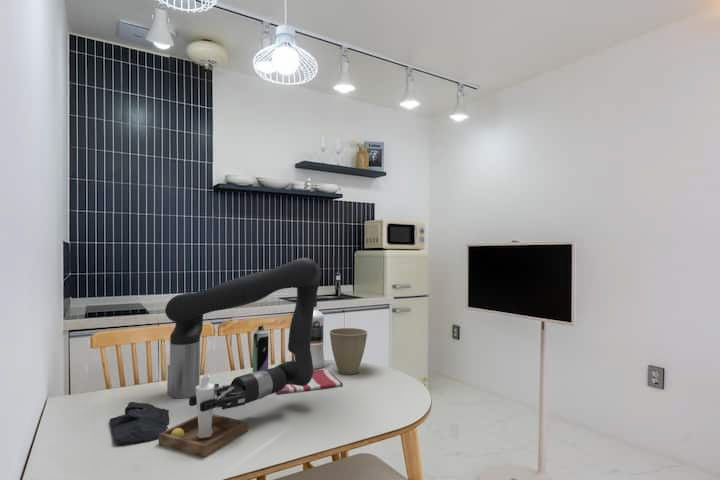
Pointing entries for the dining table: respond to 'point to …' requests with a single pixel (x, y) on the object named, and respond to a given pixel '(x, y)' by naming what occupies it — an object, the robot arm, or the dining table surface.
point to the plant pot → (348, 348)
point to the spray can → (260, 349)
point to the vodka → (317, 338)
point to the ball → (178, 432)
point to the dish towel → (314, 383)
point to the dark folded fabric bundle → (139, 423)
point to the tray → (191, 443)
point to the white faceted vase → (205, 418)
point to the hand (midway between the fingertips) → (195, 404)
